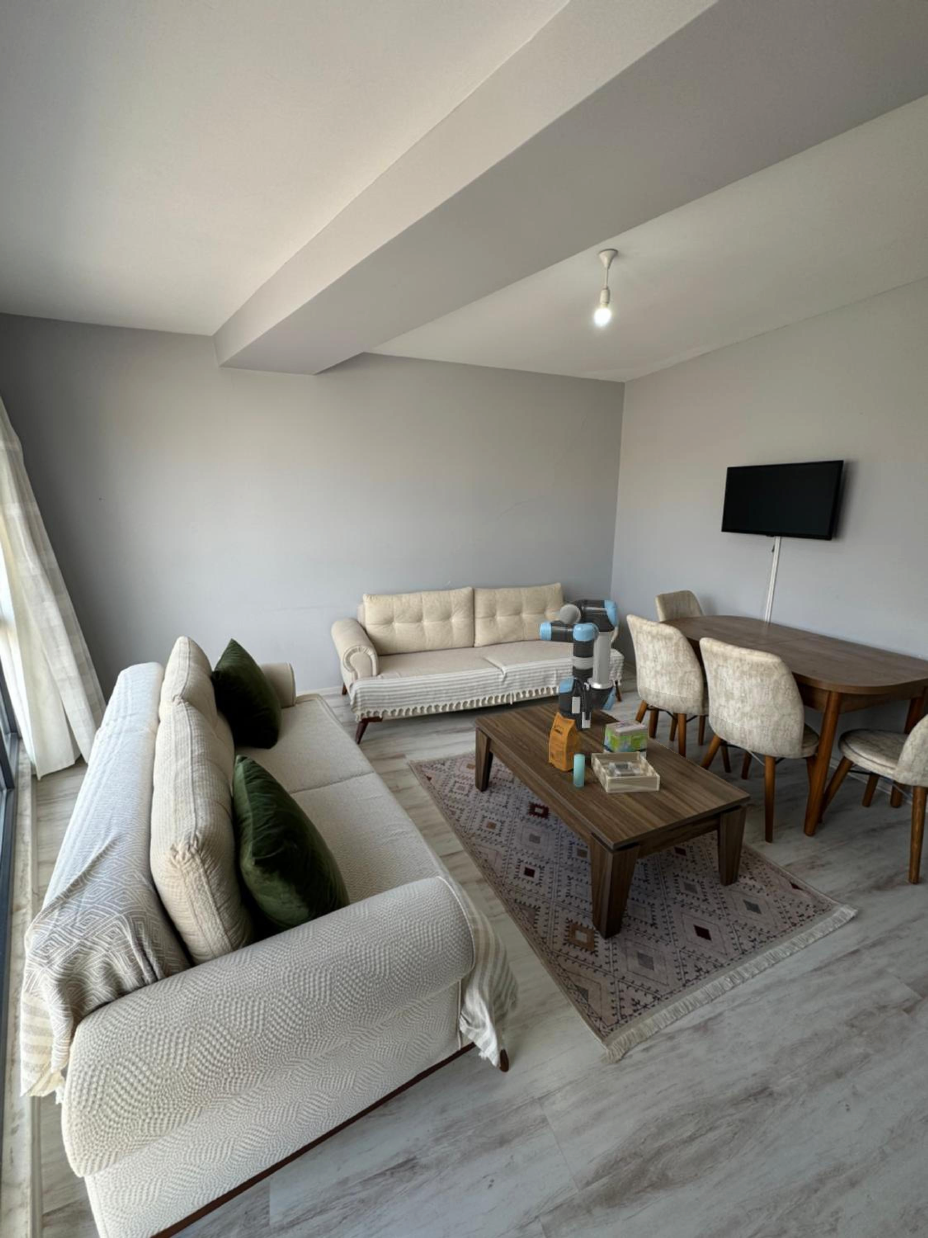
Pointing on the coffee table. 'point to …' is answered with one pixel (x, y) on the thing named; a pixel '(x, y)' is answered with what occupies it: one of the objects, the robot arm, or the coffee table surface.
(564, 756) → the coffee package
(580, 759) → the peg
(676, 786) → the coffee table surface
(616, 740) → the tea box
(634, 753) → the open box
